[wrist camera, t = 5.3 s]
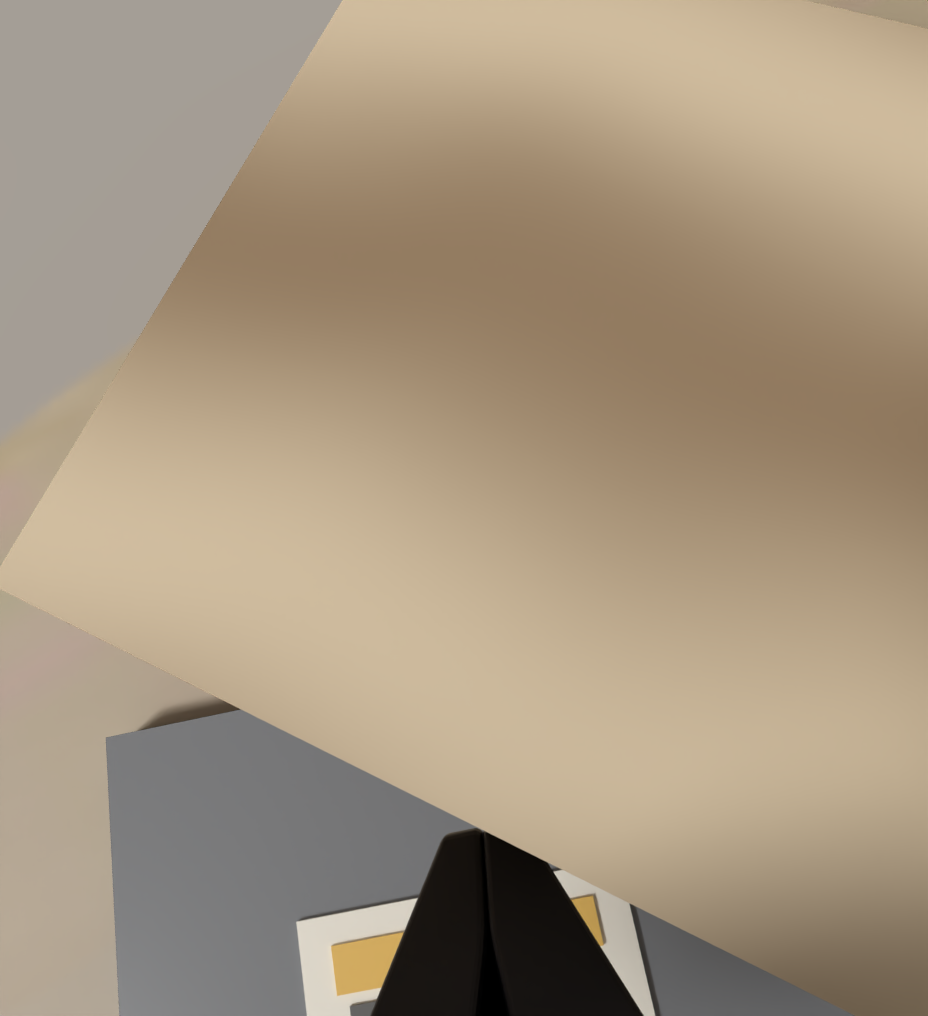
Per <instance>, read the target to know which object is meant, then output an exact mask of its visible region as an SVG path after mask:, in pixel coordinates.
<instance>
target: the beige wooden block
mask: <svg viewBox="0 0 928 1016" xmlns="http://www.w3.org/2000/svg"><path fill="white" fill-rule="evenodd" d="M0 589H1V590H3V591H5V592H7V593H9V594H11V595H13V596H15V597H17V598H19V599H21V600H23V601H25V602H27V603H29V604H31V605H33V606H35V607H37V608H39V609H41V610H43V611H45V612H47V613H49V614H51V615H53V616H55V617H57V618H59V619H61V620H63V621H65V622H67V623H69V624H71V625H73V626H75V627H77V628H79V629H81V630H83V631H85V632H87V633H89V634H91V635H93V636H95V637H97V638H99V639H101V640H103V641H105V642H107V643H109V644H111V645H113V646H115V647H117V648H119V649H121V650H123V651H125V652H127V653H129V654H131V655H133V656H135V657H137V658H139V659H141V660H143V661H145V662H147V663H149V664H151V665H153V666H155V667H157V668H159V669H161V670H163V671H165V672H167V673H169V674H171V675H173V676H175V677H177V678H179V679H181V680H183V681H185V682H187V683H189V684H191V685H193V686H195V687H197V688H199V689H201V690H203V691H205V692H207V693H209V694H211V695H213V696H215V697H217V698H219V699H221V700H223V701H225V702H227V703H229V704H231V705H233V706H235V707H237V708H239V709H241V710H243V711H245V712H247V713H249V714H251V715H253V716H255V717H257V718H259V719H261V720H263V721H265V722H267V723H269V724H271V725H273V726H275V727H277V728H279V729H281V730H283V731H285V732H287V733H289V734H291V735H293V736H295V737H297V738H299V739H301V740H303V741H305V742H307V743H309V744H311V745H313V746H315V747H317V748H319V749H321V750H323V751H325V752H327V753H329V754H331V755H333V756H335V757H337V758H339V759H341V760H343V761H345V762H347V763H349V764H351V765H353V766H355V767H357V768H359V769H361V770H363V771H365V772H367V773H369V774H371V775H373V776H375V777H377V778H379V779H381V780H383V781H385V782H387V783H389V784H391V785H393V786H396V787H398V788H400V789H402V790H404V791H406V792H408V793H410V794H412V795H414V796H416V797H418V798H420V799H422V800H424V801H426V802H428V803H430V804H432V805H434V806H436V807H438V808H440V809H442V810H444V811H446V812H448V813H450V814H452V815H454V816H456V817H458V818H460V819H462V820H464V821H466V822H468V823H470V824H472V825H474V826H476V827H478V828H480V829H482V830H484V831H486V832H488V833H490V834H492V835H494V836H496V837H498V838H500V839H502V840H504V841H506V842H508V843H510V844H512V845H514V846H516V847H518V848H520V849H522V850H524V851H526V852H528V853H530V854H532V855H534V856H536V857H538V858H540V859H542V860H544V861H546V862H548V863H550V864H552V865H554V866H556V867H558V868H560V869H562V870H564V871H566V872H568V873H570V874H572V875H574V876H576V877H578V878H580V879H582V880H584V881H586V882H588V883H590V884H592V885H594V886H596V887H598V888H600V889H602V890H604V891H606V892H608V893H610V894H612V895H614V896H616V897H618V898H620V899H622V900H624V901H626V902H628V903H630V904H632V905H634V906H636V907H638V908H640V909H642V910H644V911H646V912H648V913H650V914H652V915H654V916H656V917H658V918H660V919H662V920H664V921H666V922H668V923H670V924H672V925H674V926H676V927H678V928H680V929H682V930H684V931H686V932H688V933H690V934H692V935H694V936H696V937H698V938H700V939H702V940H704V941H706V942H708V943H710V944H712V945H714V946H716V947H718V948H720V949H722V950H724V951H726V952H728V953H730V954H732V955H734V956H736V957H738V958H740V959H742V960H744V961H746V962H748V963H750V964H752V965H754V966H756V967H758V968H760V969H762V970H764V971H766V972H768V973H770V974H772V975H774V976H776V977H778V978H780V979H782V980H784V981H786V982H788V983H790V984H792V985H794V986H796V987H798V988H800V989H802V990H804V991H806V992H808V993H810V994H812V995H814V996H816V997H818V998H820V999H822V1000H824V1001H827V1002H829V1003H831V1004H833V1005H835V1006H837V1007H839V1008H841V1009H843V1010H845V1011H847V1012H849V1013H851V1014H853V1015H855V1016H928V28H923V27H919V26H915V25H910V24H906V23H902V22H897V21H893V20H889V19H884V18H880V17H876V16H871V15H867V14H863V13H858V12H854V11H850V10H845V9H841V8H837V7H832V6H828V5H824V4H819V3H815V2H811V1H806V0H342V2H341V4H340V5H339V7H338V9H337V11H336V12H335V14H334V16H333V17H332V19H331V20H330V22H329V24H328V25H327V27H326V29H325V30H324V32H323V34H322V35H321V37H320V38H319V40H318V42H317V44H316V45H315V47H314V48H313V50H312V52H311V53H310V55H309V57H308V58H307V60H306V62H305V63H304V65H303V67H302V68H301V70H300V72H299V73H298V75H297V77H296V78H295V80H294V82H293V83H292V85H291V87H290V88H289V90H288V91H287V93H286V95H285V96H284V98H283V100H282V101H281V103H280V105H279V106H278V108H277V110H276V111H275V113H274V115H273V116H272V118H271V120H270V121H269V123H268V125H267V126H266V128H265V130H264V131H263V133H262V135H261V136H260V138H259V139H258V141H257V143H256V144H255V146H254V148H253V149H252V151H251V153H250V154H249V156H248V158H247V159H246V161H245V162H244V164H243V166H242V168H241V169H240V171H239V172H238V174H237V176H236V178H235V179H234V181H233V182H232V184H231V186H230V187H229V189H228V191H227V192H226V194H225V196H224V197H223V199H222V201H221V202H220V204H219V206H218V207H217V209H216V210H215V212H214V214H213V215H212V217H211V219H210V221H209V222H208V224H207V225H206V227H205V229H204V230H203V232H202V234H201V235H200V237H199V239H198V240H197V242H196V244H195V245H194V247H193V249H192V250H191V252H190V254H189V255H188V257H187V258H186V260H185V262H184V263H183V265H182V267H181V268H180V270H179V272H178V273H177V275H176V277H175V278H174V280H173V282H172V283H171V285H170V287H169V288H168V290H167V292H166V293H165V295H164V296H163V298H162V300H161V301H160V303H159V305H158V307H157V308H156V310H155V311H154V313H153V315H152V317H151V318H150V320H149V321H148V323H147V325H146V326H145V328H144V330H143V331H142V333H141V335H140V336H139V338H138V339H137V341H136V343H135V344H134V346H133V348H132V349H131V351H130V353H129V354H128V356H127V358H126V359H125V361H124V363H123V364H122V366H121V368H120V369H119V371H118V373H117V374H116V376H115V378H114V379H113V381H112V382H111V384H110V386H109V387H108V389H107V391H106V392H105V394H104V396H103V397H102V399H101V401H100V402H99V404H98V406H97V407H96V409H95V411H94V412H93V414H92V416H91V417H90V419H89V421H88V422H87V424H86V425H85V427H84V429H83V430H82V432H81V434H80V435H79V437H78V439H77V440H76V442H75V444H74V445H73V447H72V449H71V450H70V452H69V454H68V455H67V457H66V459H65V460H64V462H63V464H62V465H61V467H60V468H59V470H58V472H57V473H56V475H55V477H54V478H53V480H52V482H51V483H50V485H49V487H48V488H47V490H46V492H45V493H44V495H43V497H42V498H41V500H40V502H39V503H38V505H37V507H36V508H35V510H34V511H33V513H32V515H31V516H30V518H29V520H28V521H27V523H26V525H25V526H24V528H23V530H22V531H21V533H20V535H19V536H18V538H17V540H16V541H15V543H14V545H13V546H12V548H11V550H10V551H9V553H8V555H7V556H6V558H5V559H4V561H3V563H2V564H1V566H0Z"/></svg>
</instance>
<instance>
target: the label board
mask: <svg viewBox="0 0 928 1016" xmlns="http://www.w3.org/2000/svg"><path fill="white" fill-rule="evenodd" d="M106 751H107V772H108V792H109V813H110V833H111V854H112V874H113V895H114V915H115V936H116V956H117V977H118V997H119V1016H370V1014H371V1012H372V1009H373V1007H374V1005H375V1002H376V1000H377V997H378V995H379V992H380V990H381V987H382V985H383V982H384V980H385V977H386V975H387V972H388V970H389V968H390V965H391V963H392V960H393V958H394V955H395V953H396V950H397V948H398V945H399V943H400V940H401V938H402V936H403V933H404V931H405V928H406V926H407V923H408V921H409V918H410V916H411V913H412V911H413V908H414V906H415V903H416V901H417V899H418V896H419V894H420V891H421V889H422V886H423V884H424V881H425V879H426V876H427V874H428V871H429V869H430V866H431V864H432V862H433V859H434V857H435V854H436V852H437V849H438V847H439V844H440V842H441V840H442V838H443V837H444V836H445V835H446V834H448V833H452V832H457V831H462V830H467V829H472V828H478V827H476V826H474V825H472V824H470V823H468V822H466V821H464V820H462V819H460V818H458V817H456V816H454V815H452V814H450V813H448V812H446V811H444V810H442V809H440V808H438V807H436V806H434V805H432V804H430V803H428V802H426V801H424V800H422V799H420V798H418V797H416V796H414V795H412V794H410V793H408V792H406V791H404V790H402V789H400V788H398V787H396V786H393V785H391V784H389V783H387V782H385V781H383V780H381V779H379V778H377V777H375V776H373V775H371V774H369V773H367V772H365V771H363V770H361V769H359V768H357V767H355V766H353V765H351V764H349V763H347V762H345V761H343V760H341V759H339V758H337V757H335V756H333V755H331V754H329V753H327V752H325V751H323V750H321V749H319V748H317V747H315V746H313V745H311V744H309V743H307V742H305V741H303V740H301V739H299V738H297V737H295V736H293V735H291V734H289V733H287V732H285V731H283V730H281V729H279V728H277V727H275V726H273V725H271V724H269V723H267V722H265V721H263V720H261V719H259V718H257V717H255V716H253V715H251V714H249V713H247V712H245V711H243V710H236V711H231V712H227V713H222V714H217V715H212V716H207V717H203V718H198V719H193V720H188V721H183V722H179V723H174V724H169V725H164V726H159V727H155V728H150V729H145V730H140V731H135V732H131V733H126V734H121V735H116V736H111V737H107V738H106ZM478 829H480V828H478ZM481 830H482V829H481ZM483 831H484V830H482V832H483ZM548 864H549V866H550V867H551V869H552V870H553V872H554V873H555V875H556V877H557V878H558V880H559V881H560V883H561V885H562V886H563V888H564V889H565V891H566V893H567V894H568V896H569V897H570V899H571V901H572V902H573V904H574V905H575V907H576V908H577V910H578V912H579V913H580V915H581V916H582V918H583V920H584V921H585V923H586V924H587V926H588V928H589V929H590V931H591V932H592V934H593V936H594V937H595V939H596V940H597V942H598V944H599V945H600V947H601V948H602V950H603V951H604V953H605V955H606V956H607V958H608V959H609V961H610V963H611V964H612V966H613V967H614V969H615V971H616V972H617V974H618V975H619V977H620V979H621V980H622V982H623V983H624V985H625V986H626V988H627V990H628V991H629V993H630V994H631V996H632V998H633V999H634V1001H635V1002H636V1004H637V1006H638V1007H639V1009H640V1010H641V1012H642V1014H643V1015H644V1016H855V1015H853V1014H851V1013H849V1012H847V1011H845V1010H843V1009H841V1008H839V1007H837V1006H835V1005H833V1004H831V1003H829V1002H827V1001H824V1000H822V999H820V998H818V997H816V996H814V995H812V994H810V993H808V992H806V991H804V990H802V989H800V988H798V987H796V986H794V985H792V984H790V983H788V982H786V981H784V980H782V979H780V978H778V977H776V976H774V975H772V974H770V973H768V972H766V971H764V970H762V969H760V968H758V967H756V966H754V965H752V964H750V963H748V962H746V961H744V960H742V959H740V958H738V957H736V956H734V955H732V954H730V953H728V952H726V951H724V950H722V949H720V948H718V947H716V946H714V945H712V944H710V943H708V942H706V941H704V940H702V939H700V938H698V937H696V936H694V935H692V934H690V933H688V932H686V931H684V930H682V929H680V928H678V927H676V926H674V925H672V924H670V923H668V922H666V921H664V920H662V919H660V918H658V917H656V916H654V915H652V914H650V913H648V912H646V911H644V910H642V909H640V908H638V907H636V906H634V905H632V904H630V903H628V902H626V901H624V900H622V899H620V898H618V897H616V896H614V895H612V894H610V893H608V892H606V891H604V890H602V889H600V888H598V887H596V886H594V885H592V884H590V883H588V882H586V881H584V880H582V879H580V878H578V877H576V876H574V875H572V874H570V873H568V872H566V871H564V870H562V869H560V868H558V867H556V866H554V865H552V864H550V863H548Z"/></svg>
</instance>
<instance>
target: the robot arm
mask: <svg viewBox="0 0 928 1016" xmlns="http://www.w3.org/2000/svg"><path fill="white" fill-rule="evenodd" d="M370 1016H644V1015H643V1014H642V1012H641V1010H640V1009H639V1007H638V1006H637V1004H636V1002H635V1001H634V999H633V998H632V996H631V994H630V993H629V991H628V990H627V988H626V986H625V985H624V983H623V982H622V980H621V979H620V977H619V975H618V974H617V972H616V971H615V969H614V967H613V966H612V964H611V963H610V961H609V959H608V958H607V956H606V955H605V953H604V951H603V950H602V948H601V947H600V945H599V944H598V942H597V940H596V939H595V937H594V936H593V934H592V932H591V931H590V929H589V928H588V926H587V924H586V923H585V921H584V920H583V918H582V916H581V915H580V913H579V912H578V910H577V908H576V907H575V905H574V904H573V902H572V901H571V899H570V897H569V896H568V894H567V893H566V891H565V889H564V888H563V886H562V885H561V883H560V881H559V880H558V878H557V877H556V875H555V873H554V872H553V870H552V869H551V867H550V866H549V864H548V862H546V861H544V860H542V859H540V858H538V857H536V856H534V855H532V854H530V853H528V852H526V851H524V850H522V849H520V848H518V847H516V846H514V845H512V844H510V843H508V842H506V841H504V840H502V839H500V838H498V837H496V836H494V835H492V834H490V833H488V832H486V831H483V832H482V830H481V829H478V828H472V829H467V830H462V831H457V832H452V833H448V834H446V835H445V836H444V837H443V838H442V840H441V842H440V844H439V847H438V849H437V852H436V854H435V857H434V859H433V862H432V864H431V866H430V869H429V871H428V874H427V876H426V879H425V881H424V884H423V886H422V889H421V891H420V894H419V896H418V899H417V901H416V903H415V906H414V908H413V911H412V913H411V916H410V918H409V921H408V923H407V926H406V928H405V931H404V933H403V936H402V938H401V940H400V943H399V945H398V948H397V950H396V953H395V955H394V958H393V960H392V963H391V965H390V968H389V970H388V972H387V975H386V977H385V980H384V982H383V985H382V987H381V990H380V992H379V995H378V997H377V1000H376V1002H375V1005H374V1007H373V1009H372V1012H371V1014H370Z"/></svg>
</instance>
